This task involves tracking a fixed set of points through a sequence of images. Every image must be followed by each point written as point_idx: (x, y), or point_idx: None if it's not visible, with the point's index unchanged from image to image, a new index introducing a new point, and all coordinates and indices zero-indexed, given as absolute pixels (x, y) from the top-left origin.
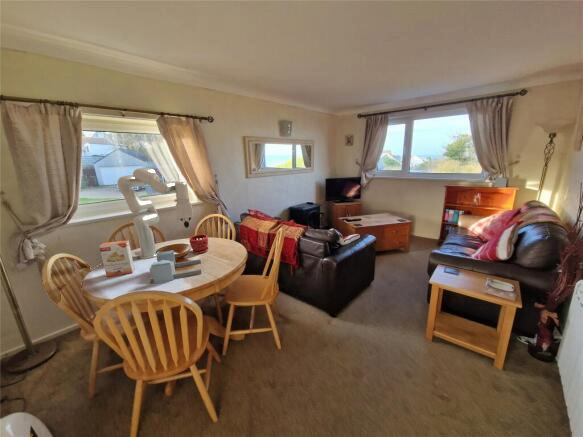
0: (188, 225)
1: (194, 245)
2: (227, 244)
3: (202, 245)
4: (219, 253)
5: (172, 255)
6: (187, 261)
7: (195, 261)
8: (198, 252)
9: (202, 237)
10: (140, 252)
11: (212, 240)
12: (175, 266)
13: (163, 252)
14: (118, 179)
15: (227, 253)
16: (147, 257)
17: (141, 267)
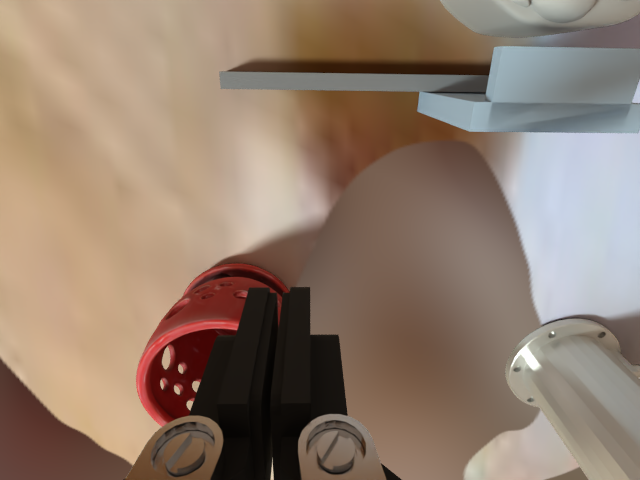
0: (228, 339)
1: None
2: (54, 354)
3: None
4: (92, 212)
5: (466, 98)
6: (329, 86)
7: (264, 72)
8: (251, 266)
9: None
10: (634, 369)
11: None
12: (423, 74)
13: (574, 98)
14: None
15: (22, 185)
16: (581, 321)
17: (633, 189)
